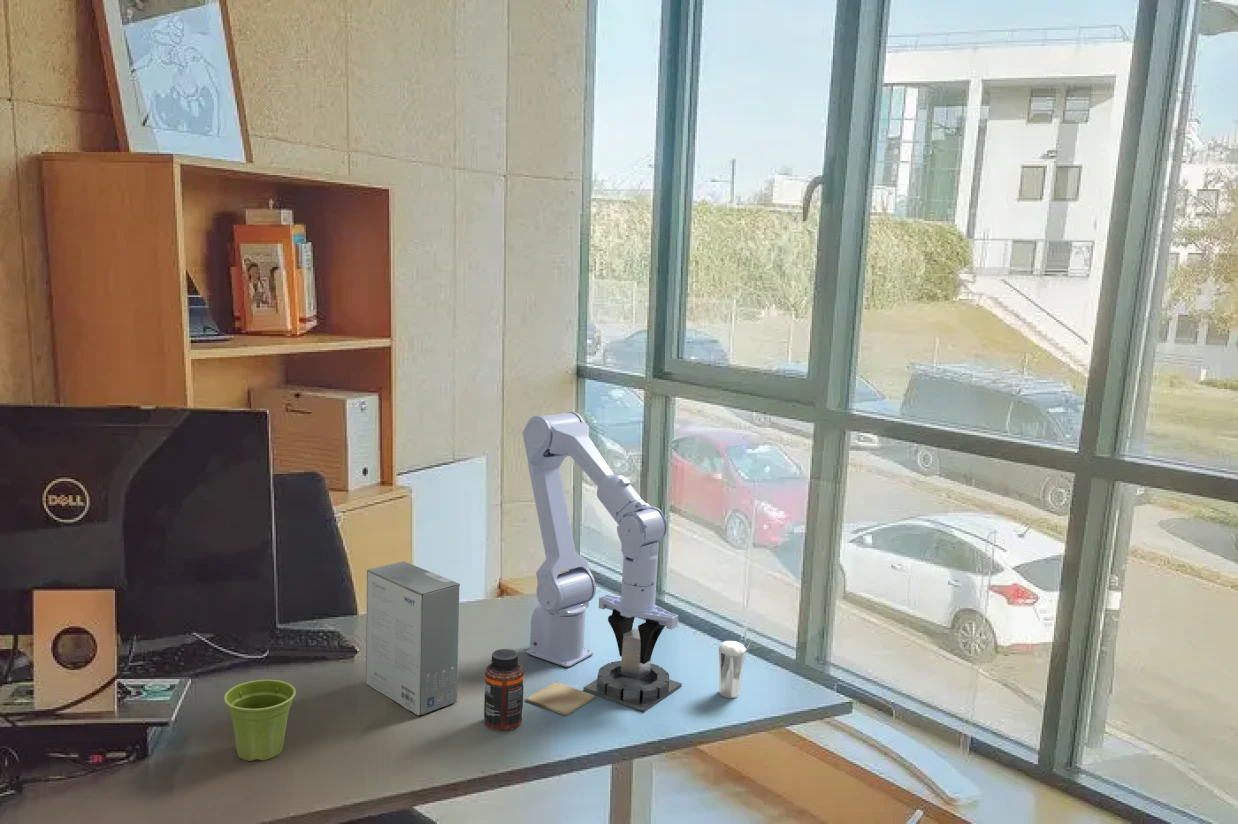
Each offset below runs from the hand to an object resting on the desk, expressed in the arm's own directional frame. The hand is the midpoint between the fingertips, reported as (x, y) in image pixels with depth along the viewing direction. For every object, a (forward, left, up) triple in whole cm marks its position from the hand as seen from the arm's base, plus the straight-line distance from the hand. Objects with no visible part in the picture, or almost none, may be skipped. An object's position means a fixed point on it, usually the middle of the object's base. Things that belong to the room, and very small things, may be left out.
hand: (634, 658), depth 160 cm
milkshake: (+14, +9, -6) cm, 18 cm away
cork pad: (-7, -11, -5) cm, 14 cm away
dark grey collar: (0, 0, -5) cm, 5 cm away
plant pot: (-30, -51, -6) cm, 59 cm away
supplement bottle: (-9, -23, -6) cm, 25 cm away
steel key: (0, 0, -3) cm, 3 cm away
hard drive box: (-27, -25, -6) cm, 37 cm away
